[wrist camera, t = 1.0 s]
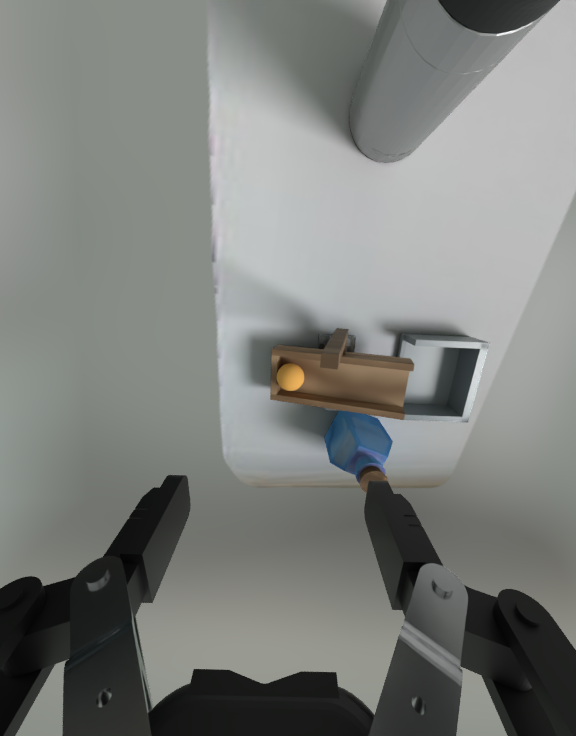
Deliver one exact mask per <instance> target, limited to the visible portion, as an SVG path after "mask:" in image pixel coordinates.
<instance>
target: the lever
mask: <svg viewBox="0 0 576 736" xmlns="http://www.w3.org/2000/svg"><path fill="white" fill-rule="evenodd" d="M347 338H348V329H338V328H337V329H336V330H335V332H334V333H333V335H332V337H331V338H330V340H329V341H328V343H327V345H326V346H325V348H324V349H314V348H305V347H295V346H285V345H277V346H276V347H274V348H273V349H272V357H271V396H270V399H271V400H277V401H284V402H290V403H297V404H303V405H310V406H316V407H323V408H329V409H336V410H342V411H349V412H355V413H362V414H368V415H375V416H381V417H388V418H394V419H401V420H404V417H405V412H404V409H403V404H404V398H405V393H406V388H407V383H408V377H409V372H410V371H413V370H414V363H413V361H412V360H411V358H401V357H392V356H382V355H372V354H363V353H353V352H346V346H347ZM288 363H293V364H296V365H298V366H299V367H300V368H301V369H302V370H303V372H304V382H303V384H302V386H301V387H300V388H298V389H297V390H294V391H287V390H284V389H283V388H281V387H280V385H279V384H278V382H277V372H278V370H279V369H280V368H281V367H282V366H283V365H285V364H288Z"/></svg>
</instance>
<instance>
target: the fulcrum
mask: <svg viewBox="0 0 576 736" xmlns="http://www.w3.org/2000/svg"><path fill="white" fill-rule="evenodd" d="M331 337H332V335H320V334H319V341H318V349H324V348H325V346H326V345H327V343H328V341H329V340H330V338H331ZM355 339H356V337H355V336H348V338H347V346H346V352H353V353H354V348H355ZM325 410H331V411H342V410H336V409H329V408H325Z"/></svg>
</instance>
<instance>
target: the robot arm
mask: <svg viewBox="0 0 576 736" xmlns="http://www.w3.org/2000/svg"><path fill="white" fill-rule="evenodd" d="M559 1H560V0H387V1H386V4H385V7H384V10H383V12H382V15H381V18H380V21H379V24H378V26H377V29H376V32H375V35H374V38H373V41H372V43H371V46H370V49H369V52H368V55H367V58H366V60H365V63H364V66H363V68H362V71H361V74H360V77H359V80H358V83H357V85H356V88H355V91H354V94H353V98H352V101H351V105H350V114H349V119H350V128H351V132H352V136H353V138H354V141H355V143H356V145H357V146H358V147H359V149H360V150H361V151H362V153H364V154H365V155H366V156H367V157H369V158H371V159H373V160H375V161H378V162H384V163H387V162H395V161H398V160H401V159H403V158H405V157H406V156H408V155H410V154H411V153H412V152H413V151H414V150H415V149H416V148H417V147H418V146H419V145H420V144H421V143H422V142H423V141H424V140H425V139H426V138H427V137H428V136H429V135H430V134H431V133H432V132H433V131H434V130H435V129H436V128H437V127H438V126H439V125H440V124H441V123H442V122H443V121H444V120H445V119H446V118H447V117H448V116H449V115H450V113H451V112H452V111H453V110H454V109H455V108H456V107H457V106H458V105H459V104H460V103H461V102H462V101H463V100H464V99H465V98H466V97H467V96H468V95H469V94H470V93H471V92H472V91H473V90H474V89H475V88H476V87H477V86H478V84H479V83H480V82H481V81H482V80H483V79H484V78H485V77H486V76H487V75H488V74H489V73H490V72H491V71H492V70H493V69H494V68H495V67H496V66H497V65H498V64H499V63H500V62H501V61H502V60H503V59H504V58H505V56H506V55H507V54H508V53H509V52H510V51H511V50H512V49H513V48H514V47H515V46H516V45H517V44H518V43H519V42H520V41H521V40H522V39H523V38H524V37H525V36H526V35H527V33H528V32H529V31H530V30H531V29H532V28H533V27H534V26H535V25H536V24H537V23H538V22H539V21H540V20H541V19H542V18H543V17H544V16H545V15H546V14H547V13H548V12H549V11H550V10H551V9H552V8H553V7H554V6H555V5H556V4H557V3H558V2H559ZM189 512H190V496H189V487H188V479H187V476H185V475H184V476H183V475H168V476H167V477H166V479H165V480H164V482H163V484H162V485H161V487H160V488H153V489H151V490H150V491H149V492H148V493H147V494H146V495H144V496H143V497H142V499H141V500H140V502H139V503H138V505H137V506H136V508H135V510H134V511H133V512H132V514H131V515H130V518H129V519H128V520H127V522H126V523H125V524H124V526H123V527H122V529H121V531H120V532H119V534H118V535H117V536H116V538H115V540H114V541H113V543H112V544H111V546H110V547H109V549H108V550H107V552H106V553H105V555H104V556H103V557H102V558H99V559H97V560H95V561H93V562H91V563H90V564H88V565H87V566H86V567H84V568H83V569H82V570H81V571H80V572H79V573H78V575H77V576H76V577H74V578H71V579H67V580H64V581H60V582H57V583H53V584H50V585H46V586H43V585H42V583H41V581H40V579H39V578H37V577H32V576H30V577H24V578H20V579H17V580H15V581H13V582H11V583H9V584H7V585H5V586H4V587H2V588H1V589H0V736H15V735H16V733H17V732H18V730H19V728H20V726H21V724H22V722H23V721H24V719H25V717H26V715H27V713H28V712H29V710H30V708H31V706H32V705H33V703H34V701H35V699H36V697H37V696H38V694H39V692H40V690H41V688H42V687H43V685H44V683H45V681H46V679H47V678H48V676H49V674H50V672H51V670H52V669H53V667H54V665H55V664H56V663H59V662H62V661H65V660H67V661H66V663H65V667H64V685H63V736H456V732H457V722H458V714H459V705H460V697H461V688H462V670H461V669H460V666H461V667H463V668H466V669H468V670H470V671H473V672H475V673H477V674H480V675H482V678H483V680H484V682H485V685H486V687H487V689H488V691H489V694H490V696H491V698H492V701H493V703H494V705H495V708H496V710H497V712H498V714H499V716H500V719H501V721H502V724H503V726H504V728H505V731H506V733H507V735H508V736H576V650H575V649H574V647H573V646H572V644H570V642H569V640H568V639H567V637H566V636H565V635H564V633H563V632H562V631H561V629H560V628H559V626H558V625H557V623H556V622H555V621H554V619H553V618H552V617H551V616H550V614H549V613H548V612H547V611H546V610H545V609H544V607H543V606H541V605H540V604H539V603H538V602H537V601H535V600H534V599H532V598H531V597H529V596H528V595H526V594H524V593H522V592H520V591H517V590H513V589H505V590H502V591H501V592H500V593H499V595H498V597H494V596H490V595H487V594H485V593H482V592H479V591H476V590H473V589H471V588H469V587H467V586H465V585H463V583H462V582H461V580H460V579H459V578H458V577H457V576H456V575H455V574H454V573H453V572H451V571H450V570H449V569H447V568H445V567H444V566H443V564H442V563H441V561H440V559H439V557H438V555H437V553H436V552H435V549H434V548H433V546H432V544H431V542H430V540H429V538H428V536H427V534H426V532H425V531H424V529H423V527H422V526H421V523H420V521H419V519H418V518H417V516H416V513H415V511H414V510H413V508H412V506H411V504H410V503H409V502H408V501H407V500H406V499H405V498H404V497H403V496H402V495H401V494H393V491H392V489H391V487H390V485H389V483H388V482H387V481H369V482H368V487H367V494H366V501H365V508H364V513H365V521H366V525H367V528H368V532H369V535H370V538H371V541H372V544H373V548H374V551H375V554H376V558H377V561H378V564H379V567H380V571H381V574H382V577H383V581H384V584H385V587H386V590H387V594H388V597H389V600H390V603H391V607H392V609H393V610H403V612H404V615H405V620H404V623H403V626H402V628H401V631H400V634H399V637H398V640H397V644H396V647H395V651H394V654H393V657H392V660H391V664H390V667H389V670H388V673H387V677H386V680H385V683H384V686H383V690H382V693H381V696H380V700H379V703H378V706H377V709H376V713H375V715H374V714H373V713H372V711H371V710H370V709H369V708H368V707H367V706H366V705H365V704H364V703H363V702H362V701H361V700H359V699H358V698H357V697H356V696H354V695H353V694H352V693H350V692H348V691H347V690H345V689H343V688H341V687H338V684H337V675H336V672H299V673H296V674H293V675H291V676H287V677H284V678H282V679H279V680H276V681H273V682H270V683H268V684H262V683H259V682H256V681H254V680H252V679H249V678H247V677H245V676H242V675H240V674H237V673H235V672H233V671H230V670H209V669H206V670H205V669H194V671H193V675H192V679H191V683H190V684H187V685H185V686H183V687H181V688H179V689H177V690H175V691H174V692H172V693H171V694H169V695H168V696H166V697H165V698H164V699H163V700H162V701H160V702H159V703H158V704H157V705H156V706H155V707H154V708H153V703H152V698H151V693H150V688H149V684H148V680H147V674H146V669H145V663H144V659H143V653H142V647H141V642H140V636H139V631H138V625H137V620H136V614H137V611H138V609H139V607H140V605H141V603H152V602H153V600H154V598H155V596H156V593H157V591H158V588H159V586H160V583H161V581H162V579H163V576H164V574H165V572H166V569H167V567H168V565H169V562H170V560H171V557H172V554H173V553H174V550H175V548H176V545H177V543H178V541H179V538H180V536H181V533H182V531H183V529H184V526H185V524H186V521H187V519H188V516H189ZM68 659H69V660H68Z"/></svg>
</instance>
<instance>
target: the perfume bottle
mask: <svg viewBox="0 0 576 736" xmlns="http://www.w3.org/2000/svg"><path fill="white" fill-rule="evenodd" d="M324 438H325V442H326V447H327V451H328V455H329V460H330V463H332V464H334V465H335V466H337V467H339V468H340V469H342V470H344V471H346V472H349V473H351V474H354V475H356V478H357V481H358V482H359V483H360V486H361V488H362V490H363V491H365V492H366V493H367V487H368V482H369V481H387V482H388V479H387V476H386V475H385V474H386V473H385V470H384V468H383V466H382V465H383V464H384V462H385V461H386V459H387V457H388V455H389V452H390V449H391V445H392V442H393V441H392V440H391V438H390V437H389V435H388V433H387V432H386V430H385V429H384V427H383V426H382V424H381V423H380V421H379V420H378V419H377V418H374V417H372V416H369V415H367V414H362V413H355V412H349V411H338V413H337V415H336V417H335V419H334V420H333V422H332V424H331V426H330V428H329V430H328V432H327V434H326V435H325V437H324Z"/></svg>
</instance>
